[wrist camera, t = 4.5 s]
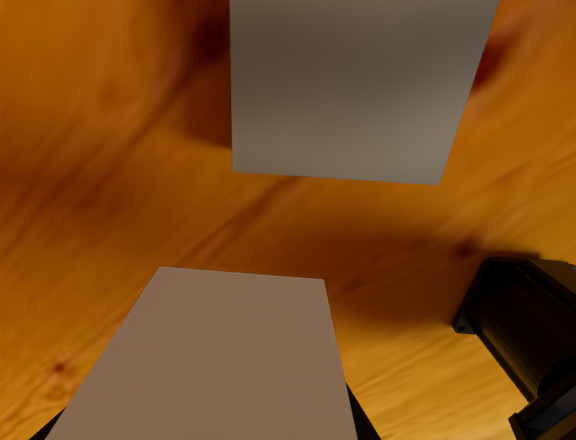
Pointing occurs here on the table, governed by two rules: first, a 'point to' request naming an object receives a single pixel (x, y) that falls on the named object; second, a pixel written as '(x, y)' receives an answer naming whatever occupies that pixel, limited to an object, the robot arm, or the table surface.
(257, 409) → the cream cube
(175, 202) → the table surface
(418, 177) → the grey block
